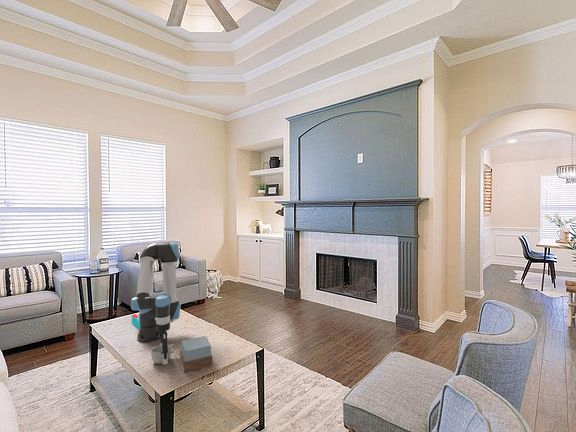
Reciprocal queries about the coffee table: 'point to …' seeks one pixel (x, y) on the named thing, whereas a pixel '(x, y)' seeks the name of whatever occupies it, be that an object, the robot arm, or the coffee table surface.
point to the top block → (195, 348)
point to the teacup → (157, 353)
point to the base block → (195, 363)
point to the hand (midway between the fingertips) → (164, 358)
